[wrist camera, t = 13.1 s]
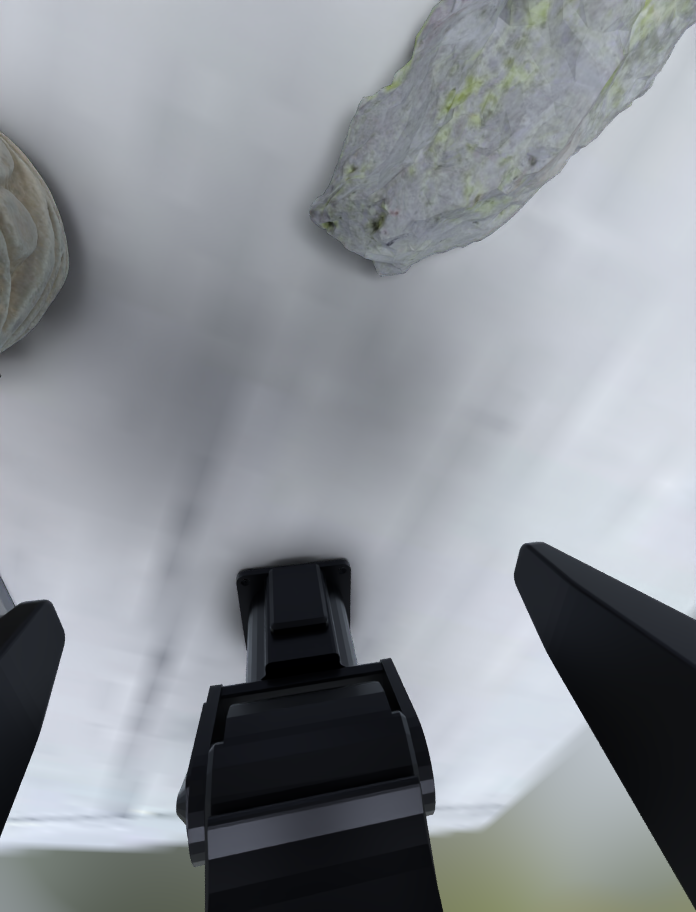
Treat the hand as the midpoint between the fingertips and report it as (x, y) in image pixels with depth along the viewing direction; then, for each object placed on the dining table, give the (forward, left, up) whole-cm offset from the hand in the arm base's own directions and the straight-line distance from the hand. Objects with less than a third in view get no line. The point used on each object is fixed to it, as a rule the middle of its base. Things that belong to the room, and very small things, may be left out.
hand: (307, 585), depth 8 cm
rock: (+11, -9, -13) cm, 19 cm away
